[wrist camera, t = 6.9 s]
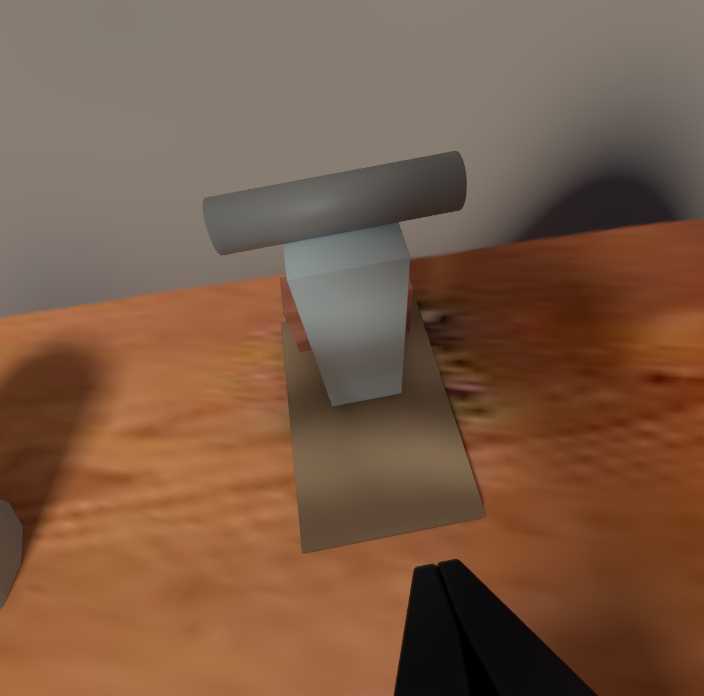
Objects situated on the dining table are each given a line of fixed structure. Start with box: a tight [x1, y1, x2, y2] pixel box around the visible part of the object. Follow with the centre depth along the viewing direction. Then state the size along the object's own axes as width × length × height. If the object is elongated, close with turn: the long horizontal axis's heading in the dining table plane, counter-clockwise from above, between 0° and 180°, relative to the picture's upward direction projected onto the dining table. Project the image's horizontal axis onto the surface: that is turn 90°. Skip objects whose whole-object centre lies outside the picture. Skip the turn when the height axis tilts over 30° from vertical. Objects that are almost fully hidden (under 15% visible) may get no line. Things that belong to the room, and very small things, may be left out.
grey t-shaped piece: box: [203, 151, 467, 407], centre depth 17 cm, size 4×8×13 cm, turn 100°
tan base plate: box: [280, 277, 486, 553], centre depth 20 cm, size 14×9×5 cm, turn 10°
